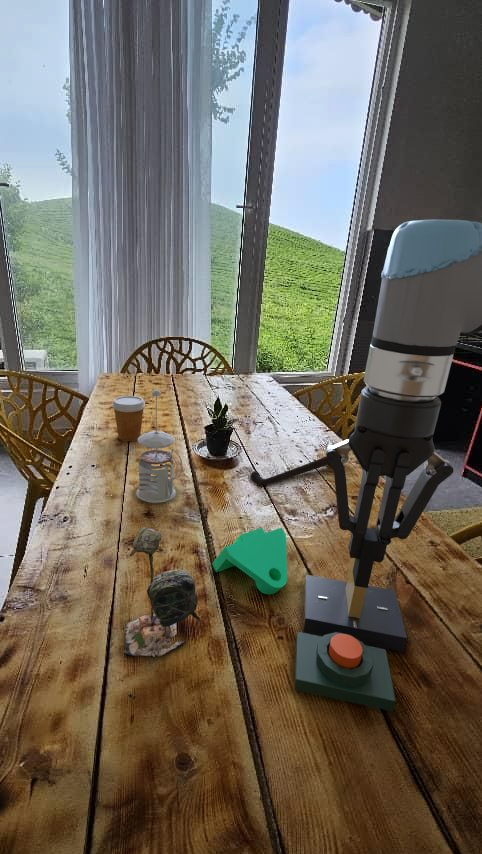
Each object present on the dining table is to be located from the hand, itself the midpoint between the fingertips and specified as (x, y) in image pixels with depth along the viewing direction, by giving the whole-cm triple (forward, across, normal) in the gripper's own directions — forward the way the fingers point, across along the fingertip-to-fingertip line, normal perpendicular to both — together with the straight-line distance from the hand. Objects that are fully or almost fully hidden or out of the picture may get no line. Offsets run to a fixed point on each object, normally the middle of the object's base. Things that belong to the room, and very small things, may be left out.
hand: (359, 579), depth 53 cm
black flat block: (+16, +2, +11) cm, 20 cm away
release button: (+12, 0, 0) cm, 12 cm away
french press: (+16, -38, +39) cm, 57 cm away
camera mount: (+11, -16, +20) cm, 28 cm away
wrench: (+16, -6, +62) cm, 64 cm away
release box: (+16, 0, 0) cm, 16 cm away
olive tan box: (+13, +2, +11) cm, 17 cm away
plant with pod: (+16, -25, 0) cm, 30 cm away
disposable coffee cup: (+16, -57, +69) cm, 91 cm away
